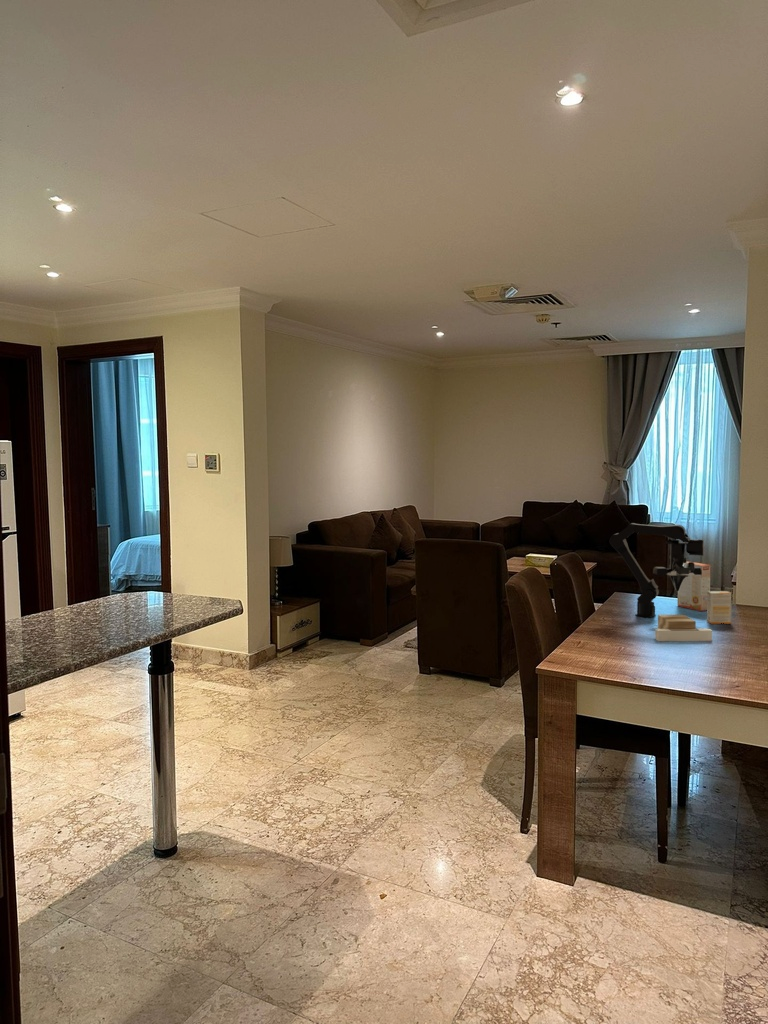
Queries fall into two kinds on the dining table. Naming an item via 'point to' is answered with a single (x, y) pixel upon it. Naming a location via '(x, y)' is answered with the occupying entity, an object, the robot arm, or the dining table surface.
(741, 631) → the dining table surface
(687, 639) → the cream board
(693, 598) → the cracker box
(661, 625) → the oak block
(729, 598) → the supplement box
